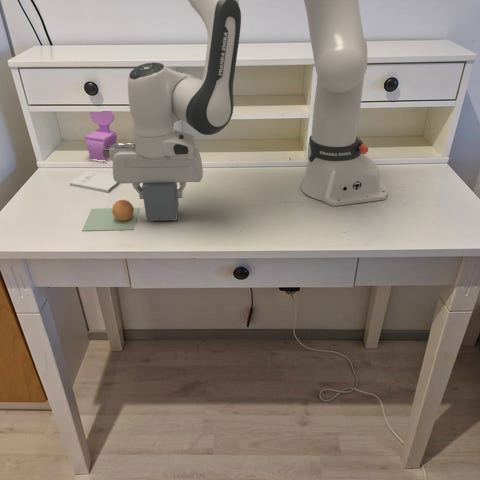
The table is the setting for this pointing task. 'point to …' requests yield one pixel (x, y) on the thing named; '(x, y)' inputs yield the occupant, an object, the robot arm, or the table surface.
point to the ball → (122, 210)
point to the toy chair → (101, 135)
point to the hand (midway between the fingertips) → (161, 197)
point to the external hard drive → (95, 181)
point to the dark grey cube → (160, 201)
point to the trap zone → (108, 221)
